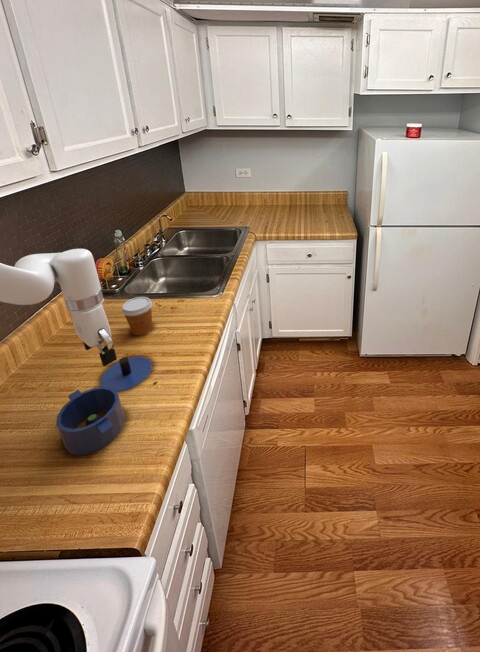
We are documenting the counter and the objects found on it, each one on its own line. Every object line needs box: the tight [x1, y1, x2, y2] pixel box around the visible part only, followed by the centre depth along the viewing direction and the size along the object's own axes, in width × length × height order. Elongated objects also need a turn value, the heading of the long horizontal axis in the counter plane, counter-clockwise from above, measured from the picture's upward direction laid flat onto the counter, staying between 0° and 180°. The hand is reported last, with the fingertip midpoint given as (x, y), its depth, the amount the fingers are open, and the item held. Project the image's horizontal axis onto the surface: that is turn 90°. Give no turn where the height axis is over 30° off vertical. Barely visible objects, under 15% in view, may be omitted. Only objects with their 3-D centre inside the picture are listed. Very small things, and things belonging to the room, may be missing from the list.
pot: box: [55, 386, 126, 456], centre depth 82 cm, size 13×18×8 cm
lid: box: [100, 356, 153, 393], centre depth 100 cm, size 14×14×6 cm
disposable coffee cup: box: [121, 296, 153, 336], centre depth 117 cm, size 10×10×12 cm
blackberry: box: [85, 413, 102, 427], centre depth 83 cm, size 3×3×5 cm
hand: (101, 354), depth 87 cm, fingers open, 9 cm apart
